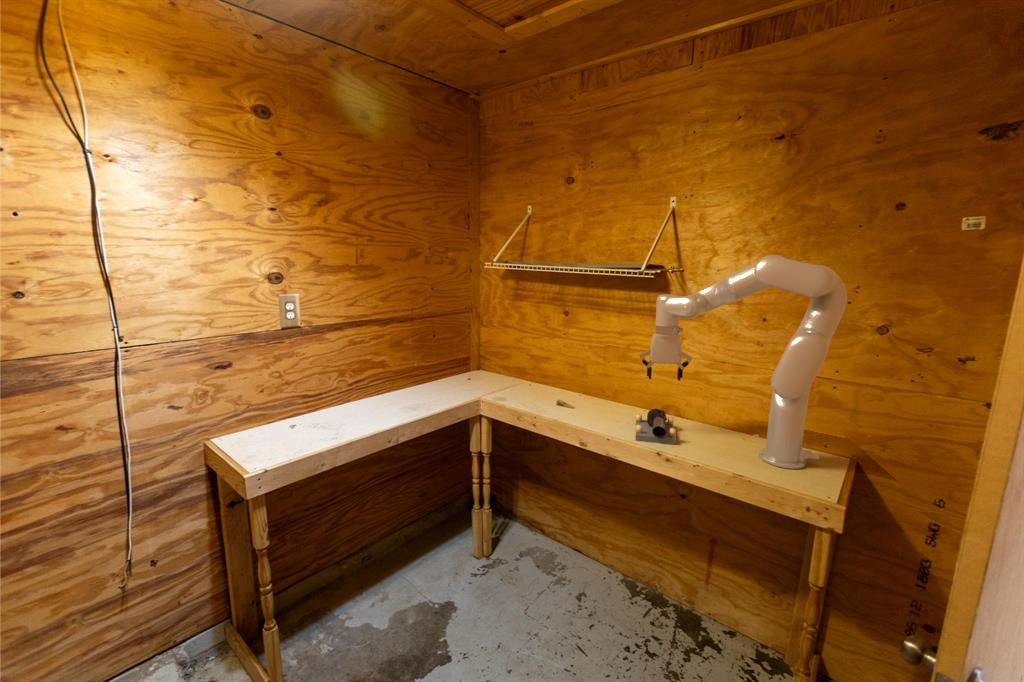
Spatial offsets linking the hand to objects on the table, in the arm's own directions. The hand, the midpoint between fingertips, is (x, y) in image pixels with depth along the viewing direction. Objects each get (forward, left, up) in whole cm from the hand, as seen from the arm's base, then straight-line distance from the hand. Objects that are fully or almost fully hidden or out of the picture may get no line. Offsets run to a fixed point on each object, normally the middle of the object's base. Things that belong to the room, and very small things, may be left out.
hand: (664, 379), depth 160 cm
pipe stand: (+2, +2, -20) cm, 20 cm away
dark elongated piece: (+1, +2, -18) cm, 18 cm away
